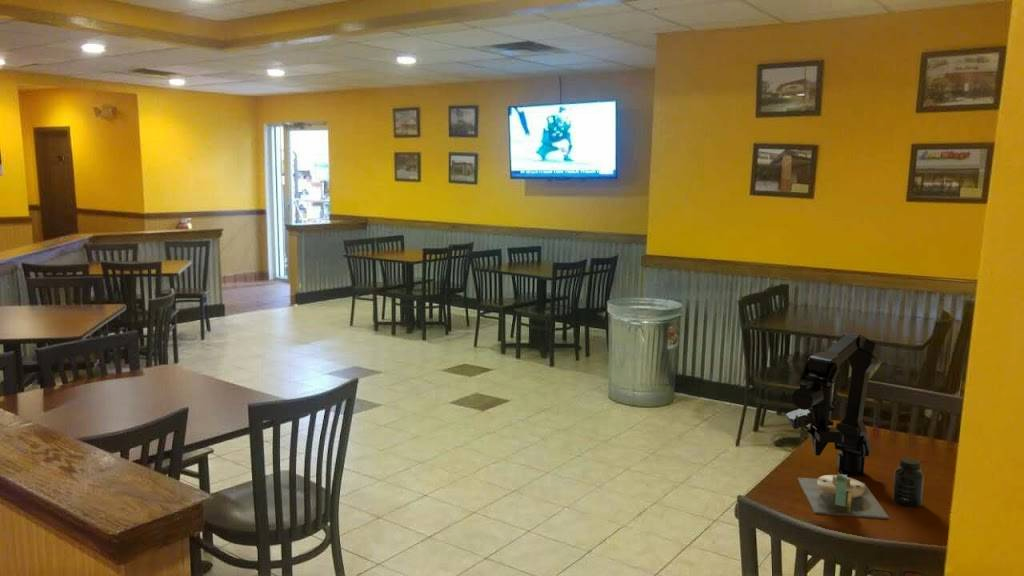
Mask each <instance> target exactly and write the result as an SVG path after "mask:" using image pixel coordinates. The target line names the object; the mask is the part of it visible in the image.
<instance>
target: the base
mask: <svg viewBox="0 0 1024 576" xmlns="http://www.w3.org/2000/svg"><path fill="white" fill-rule="evenodd" d="M796 479H797V482H798V483H799V485H800V488H801V489H802V491H803V494H804V495H805V498H806V499H807V502H808V504H809V505H810V507H811V509H812V511H813V514H815V515H828V516H829V515H830V516H841V517H842V516H844V517H856V518H857V517H858V518H871V519H880V520H881V519H884V520H889V519H890V517H889V515H888V514H887V513H886V511H885V509H884V508H883V506H881V504H880V503H879V501H878V500H877V498H876V497H875V496H874V495H873V494H874V493H872V491H870V489H869V487H868V486H867V485H866V483H865V482H864V481H860V482H861V483H863V484H864V485H865V494H864V495H863V496H860V497H854V498H852V492H851V491H846V502H845V506H840V505H835V497H836V496H835V495H831V494H828V493H826V492H824V491H822V490H821V489H819V488H818V486H817V480H818V478H813V477H812V478H810V477H797V478H796Z"/></svg>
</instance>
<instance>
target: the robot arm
mask: <svg viewBox="0 0 1024 576" xmlns="http://www.w3.org/2000/svg"><path fill="white" fill-rule="evenodd" d="M881 355H882V348H881V347H880V346H879V344H878V343H877V342H875V341H872V340H871V339H869V338H868V337H866V336H864V335H862V334H860V333H853V332H850V331H849V332H845V333H844V334H843V336H842V338H840V339H839V340H837V341H836V343H834V344H833V345H831V346H830V348H828V349H827V350H826V351H825V350H824V351H819V352H816V353H813V354H811V355H810V357H809V358H808V359H807V360H806V362H805V365H804V368H803V370H802V372H801V375H800V378H799V381H801V383H799V388H796V389H795V390H794V391H793V392H792V394H791V396H792V397H791V399H792V403H793V404H794V406H795V407H796V408H798V409H794V410H791V411H789V412H787V413H786V415H785V416H786V418H787V421H788V425H789V426H790V427H792V429H794V430H798V429H800V428H803V429H804V430H805V431H806V432H807V433H808V435H809V436H810V439H811V444H812V448H813V452H814V455H815V456H816V457H817V456H818V457H819V456H821V455H822V453H823V451H824V449H825V448H826V447H827V445H828V444H829V443H832V444H833V443H834V449H835V450H838V451H839V453H838V454H837V457H836V458H837V459H836V460H837V461H836V467H837V469H838V470H839V471H840V474H842V475H847V476H848V475H849V476H851V475H852V476H863V477H864V476H866V473H865V470H864V469H865V458H866V457H870V454H871V452H872V445H871V443H870V441H869V439H868V436H867V428H866V426H865V424H864V422H863V418H864V412H865V405H866V398H867V394H868V393H867V392H868V386H869V380H870V374H871V371H872V370H874V369H875V367H876V366H877V365H878V363H879V359H880V358H881ZM845 360H847V362H848V364H849V367H850V368H851V372H850V373H851V375H850V381H849V386H848V394H847V400H846V406H845V413H844V417H843V419H841V421H839V422H837V423H836V425H835V426H836V427H831V426H834V421H833V420H832V419H831V418H832V412H834V411H835V407H834V405H832V402H833V401H832V400H833V387H834V386H833V385H834V384H836V382H837V381H836V378H837V376H838V374H839V373H840V365H841V364H842V363H844V361H845Z"/></svg>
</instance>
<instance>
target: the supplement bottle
mask: <svg viewBox="0 0 1024 576" xmlns="http://www.w3.org/2000/svg"><path fill="white" fill-rule="evenodd" d="M894 471H895V472H894V481H893V495H892V496H893V497H892V498H893V501H894V503H895V504H896V505H899V506H901V507H903V508H909V509H911V508H912V509H913V508H915V509H917V508H920V507H921V505H922V502H923V492H924V479H925V477H924V476H925V475H924V474H923V472H922V471H921V461H920V460H919V459H916V458H912V457H901V458H900V460H899V467H898V468H896V469H895V470H894Z"/></svg>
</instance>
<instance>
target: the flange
mask: <svg viewBox="0 0 1024 576" xmlns="http://www.w3.org/2000/svg"><path fill="white" fill-rule="evenodd" d="M817 479H818V480H817V486H818V488H819V489H821V490H822V491H824V492H826V493H828V494H831V495H835V496H836V497H835V505H840V506H845V502H846V491H851V492H852V498H854V497H860V496H863V495H864V494H865V485H866V484H865V485H864V484H863V483H861V482H862V481H859V480H857V479H855V478H853V477H848V475H847V474H842V473H837V474H827V475H826V474H825V475H821V476H820V477H818V478H817Z"/></svg>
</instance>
